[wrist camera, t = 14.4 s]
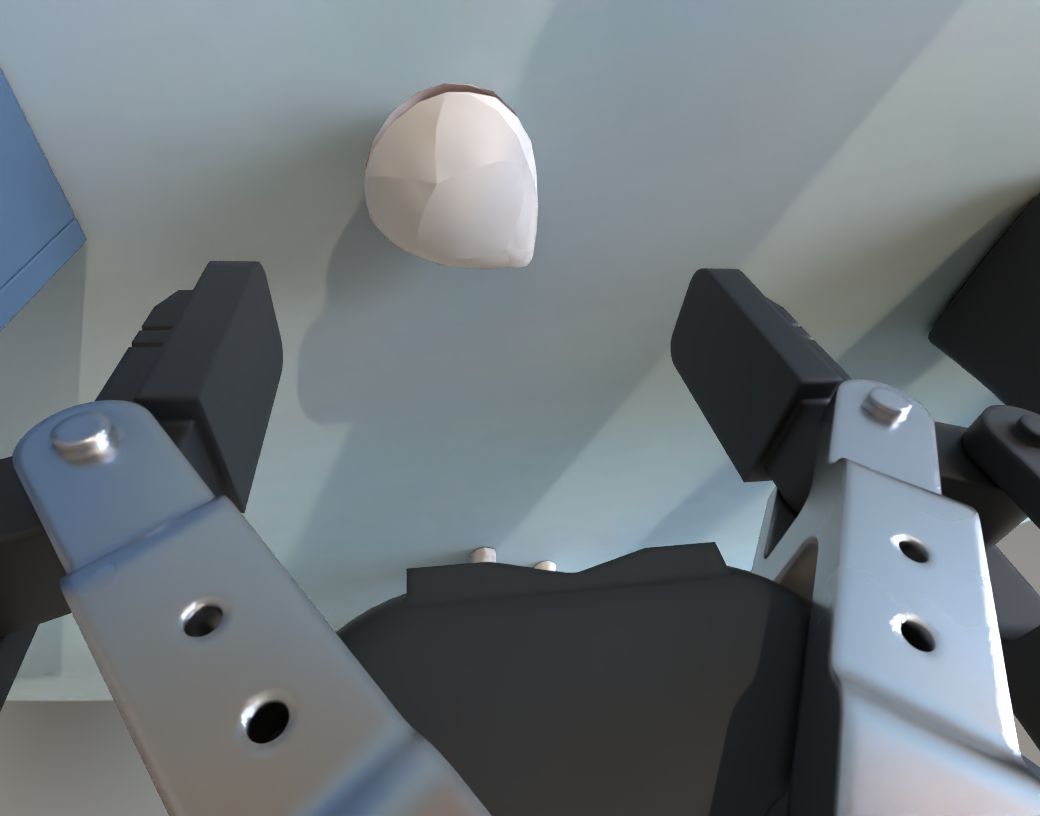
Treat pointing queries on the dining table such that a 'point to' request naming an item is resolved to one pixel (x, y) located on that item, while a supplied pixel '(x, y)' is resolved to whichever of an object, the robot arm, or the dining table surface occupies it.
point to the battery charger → (1000, 317)
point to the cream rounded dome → (455, 180)
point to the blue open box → (28, 212)
